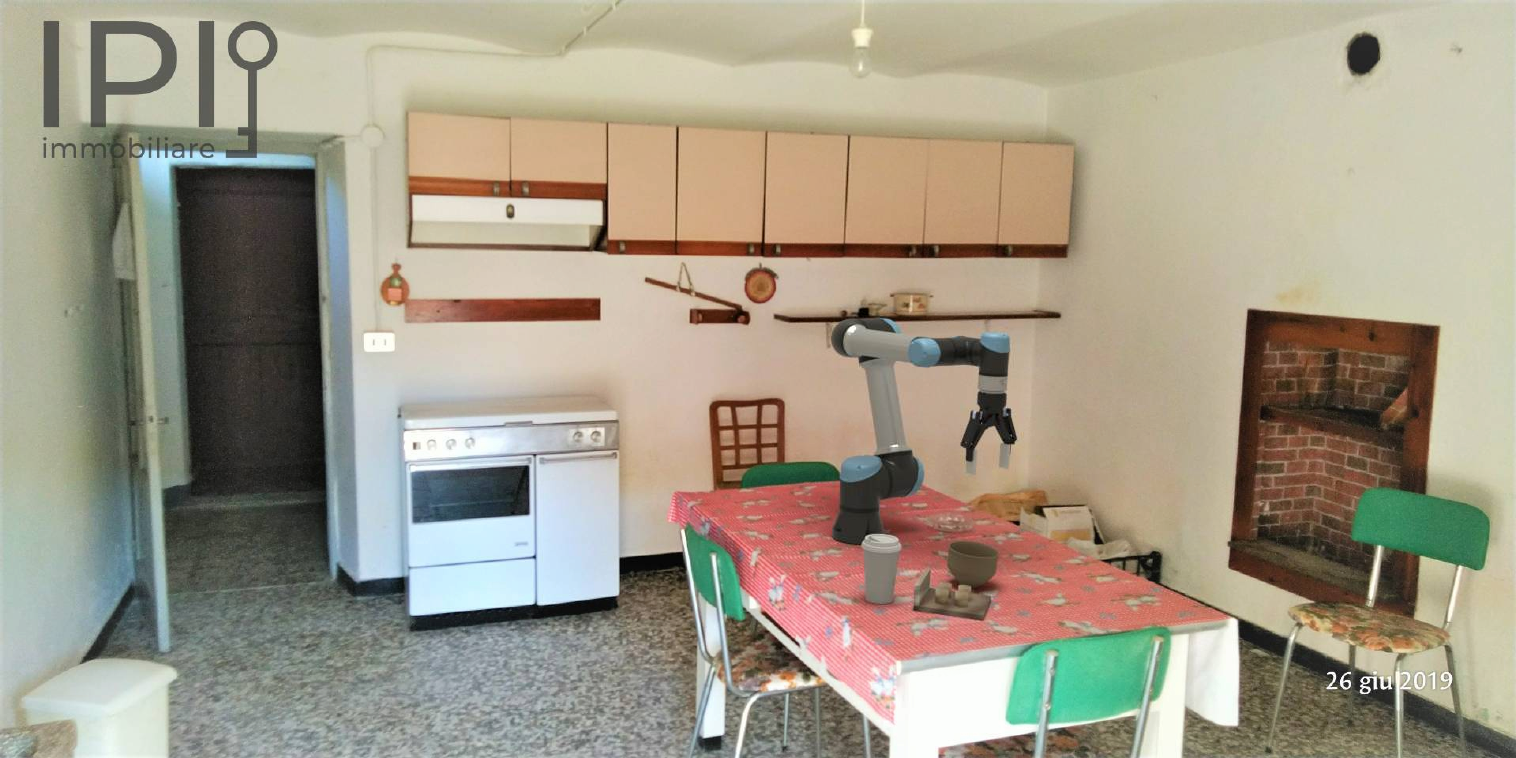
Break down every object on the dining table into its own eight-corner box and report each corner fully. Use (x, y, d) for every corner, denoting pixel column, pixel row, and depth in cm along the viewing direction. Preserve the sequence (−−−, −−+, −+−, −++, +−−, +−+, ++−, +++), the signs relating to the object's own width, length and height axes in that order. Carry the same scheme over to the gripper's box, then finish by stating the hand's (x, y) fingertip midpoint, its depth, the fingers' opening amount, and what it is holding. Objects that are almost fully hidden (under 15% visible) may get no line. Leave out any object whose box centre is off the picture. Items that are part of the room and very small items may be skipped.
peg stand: (913, 610, 235) (914, 585, 234) (924, 592, 248) (925, 568, 248) (983, 620, 230) (984, 594, 229) (990, 601, 243) (992, 576, 242)
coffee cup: (855, 592, 246) (858, 532, 244) (894, 592, 247) (897, 533, 245) (863, 606, 237) (865, 544, 235) (903, 606, 238) (906, 544, 236)
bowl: (987, 597, 246) (989, 557, 244) (938, 587, 252) (940, 548, 251) (1004, 583, 256) (1006, 545, 255) (956, 574, 263) (958, 536, 262)
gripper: (972, 396, 255) (967, 478, 258) (1033, 390, 271) (1028, 468, 273) (949, 392, 261) (945, 473, 264) (1010, 386, 277) (1006, 462, 279)
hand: (987, 470), depth 269 cm, fingers open, 13 cm apart
